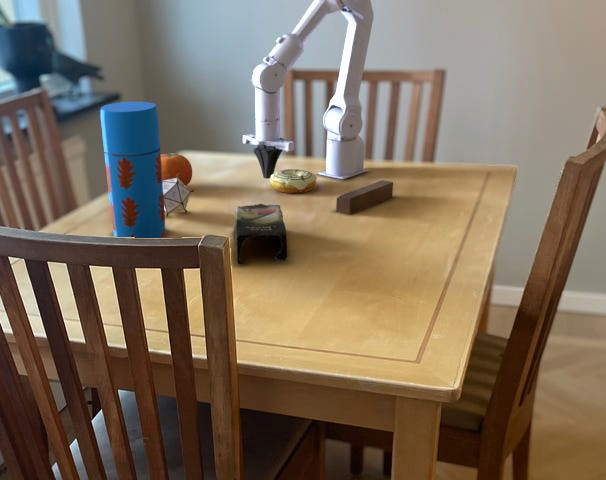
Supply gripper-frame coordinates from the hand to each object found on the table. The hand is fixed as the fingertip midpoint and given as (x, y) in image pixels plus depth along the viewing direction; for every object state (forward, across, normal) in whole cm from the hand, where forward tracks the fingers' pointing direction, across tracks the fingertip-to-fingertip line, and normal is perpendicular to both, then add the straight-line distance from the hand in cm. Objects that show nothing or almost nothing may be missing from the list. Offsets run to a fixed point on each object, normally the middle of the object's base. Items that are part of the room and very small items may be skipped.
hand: (268, 177), depth 192 cm
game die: (+2, 0, -31) cm, 31 cm away
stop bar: (+1, +28, 0) cm, 28 cm away
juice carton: (+2, +29, -35) cm, 45 cm away
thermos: (+2, +5, -45) cm, 45 cm away
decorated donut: (+2, +8, 0) cm, 8 cm away
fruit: (+2, -15, -18) cm, 24 cm away
